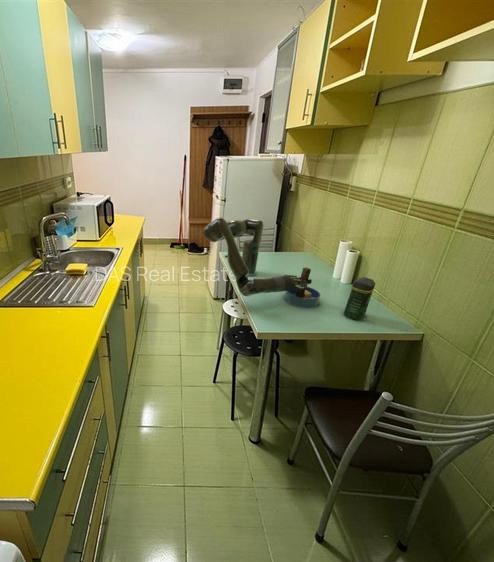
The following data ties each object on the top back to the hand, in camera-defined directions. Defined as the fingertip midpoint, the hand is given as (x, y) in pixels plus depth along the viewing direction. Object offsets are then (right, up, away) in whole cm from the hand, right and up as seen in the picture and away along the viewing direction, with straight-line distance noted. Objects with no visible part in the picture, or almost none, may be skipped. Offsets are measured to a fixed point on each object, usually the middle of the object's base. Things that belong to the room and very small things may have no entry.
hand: (308, 280), depth 151 cm
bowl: (-2, -10, +4) cm, 11 cm away
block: (0, -10, +4) cm, 11 cm away
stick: (-4, -9, +3) cm, 10 cm away
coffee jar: (+17, -17, -9) cm, 26 cm away
